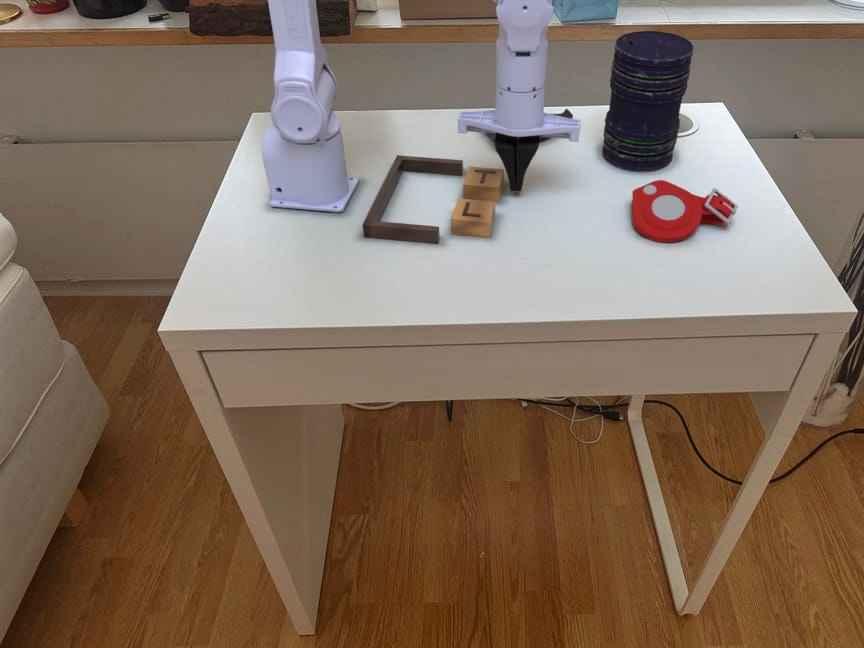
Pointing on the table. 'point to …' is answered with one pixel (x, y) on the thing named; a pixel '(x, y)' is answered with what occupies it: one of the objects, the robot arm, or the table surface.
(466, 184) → the t tile
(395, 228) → the frame
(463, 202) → the l tile
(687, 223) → the tracker holder
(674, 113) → the dark blue barrel
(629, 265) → the table surface
